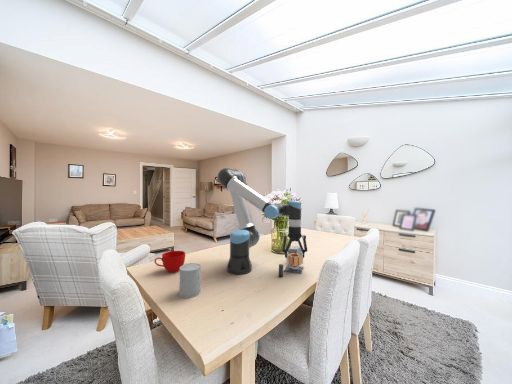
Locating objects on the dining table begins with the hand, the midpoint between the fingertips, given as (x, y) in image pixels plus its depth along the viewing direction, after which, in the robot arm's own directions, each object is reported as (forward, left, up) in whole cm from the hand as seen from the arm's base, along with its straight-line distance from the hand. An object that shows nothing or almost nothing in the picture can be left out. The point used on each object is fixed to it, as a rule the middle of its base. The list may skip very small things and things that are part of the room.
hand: (294, 262), depth 130 cm
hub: (0, 0, -4) cm, 4 cm away
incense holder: (-2, +14, -5) cm, 15 cm away
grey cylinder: (-40, -48, -4) cm, 63 cm away
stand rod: (-5, -13, -4) cm, 15 cm away
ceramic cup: (-68, -31, -4) cm, 75 cm away
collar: (0, 0, 0) cm, 0 cm away
